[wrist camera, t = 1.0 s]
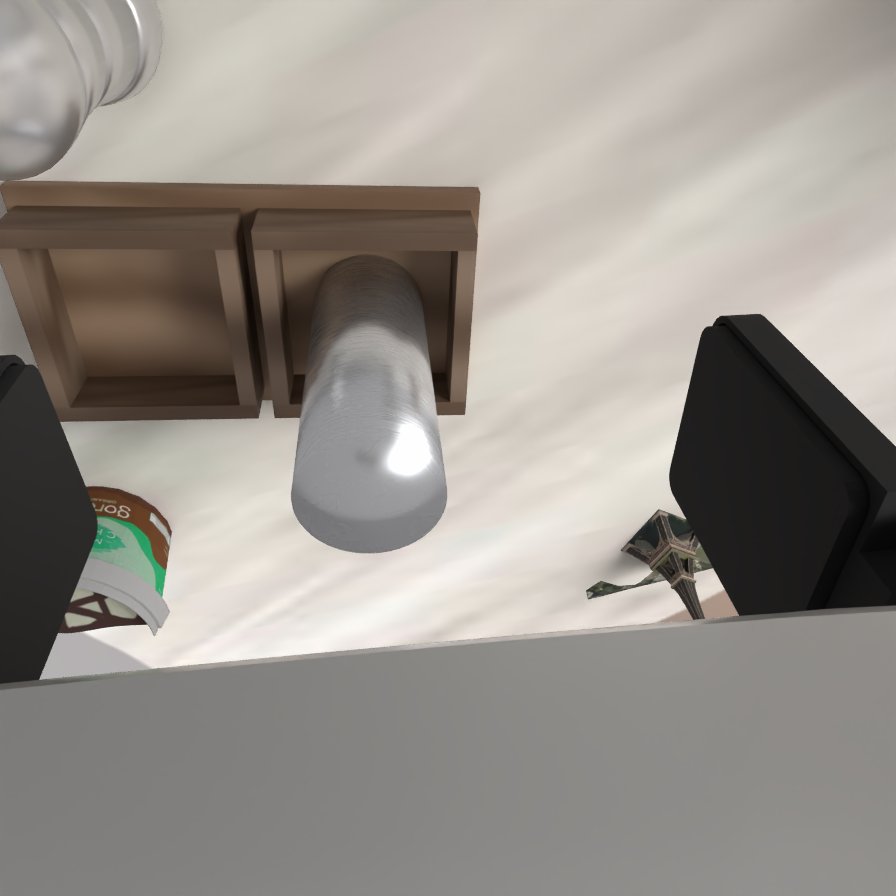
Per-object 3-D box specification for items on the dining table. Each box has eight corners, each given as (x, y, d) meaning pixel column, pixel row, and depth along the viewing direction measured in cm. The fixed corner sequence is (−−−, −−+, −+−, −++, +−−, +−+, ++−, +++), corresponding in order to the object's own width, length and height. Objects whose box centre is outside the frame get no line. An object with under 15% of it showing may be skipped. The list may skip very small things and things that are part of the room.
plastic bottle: (32, 68, 36) (-220, 211, 21) (29, -91, 32) (-284, -66, 17) (167, 108, 38) (27, 267, 22) (178, -40, 34) (20, 27, 18)
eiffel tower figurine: (584, 596, 67) (624, 729, 56) (565, 521, 60) (606, 655, 50) (747, 554, 65) (820, 683, 55) (744, 474, 59) (825, 601, 48)
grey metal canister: (311, 254, 43) (283, 439, 28) (422, 254, 43) (450, 435, 29) (318, 351, 47) (297, 555, 32) (420, 350, 47) (444, 550, 33)
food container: (175, 470, 53) (141, 573, 45) (191, 531, 57) (163, 635, 49) (-2, 477, 52) (-68, 583, 44) (26, 538, 55) (-29, 646, 48)
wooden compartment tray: (6, 180, 39) (-29, 210, 36) (478, 187, 42) (488, 215, 38) (76, 394, 48) (53, 434, 45) (464, 389, 51) (471, 427, 47)
